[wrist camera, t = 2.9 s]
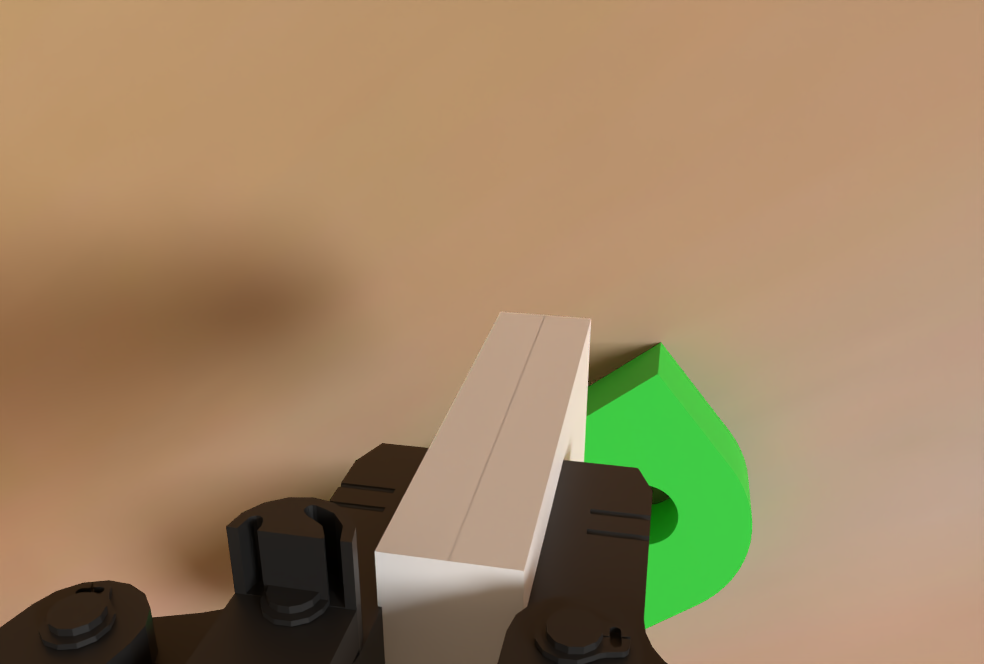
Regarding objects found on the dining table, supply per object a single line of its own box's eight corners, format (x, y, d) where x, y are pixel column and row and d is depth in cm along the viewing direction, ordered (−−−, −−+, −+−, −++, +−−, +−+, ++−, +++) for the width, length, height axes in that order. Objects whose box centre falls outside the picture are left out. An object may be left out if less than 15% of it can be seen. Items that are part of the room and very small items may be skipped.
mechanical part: (458, 673, 29) (378, 919, 21) (335, 539, 27) (207, 753, 20) (793, 510, 24) (833, 758, 17) (661, 339, 23) (643, 526, 15)
